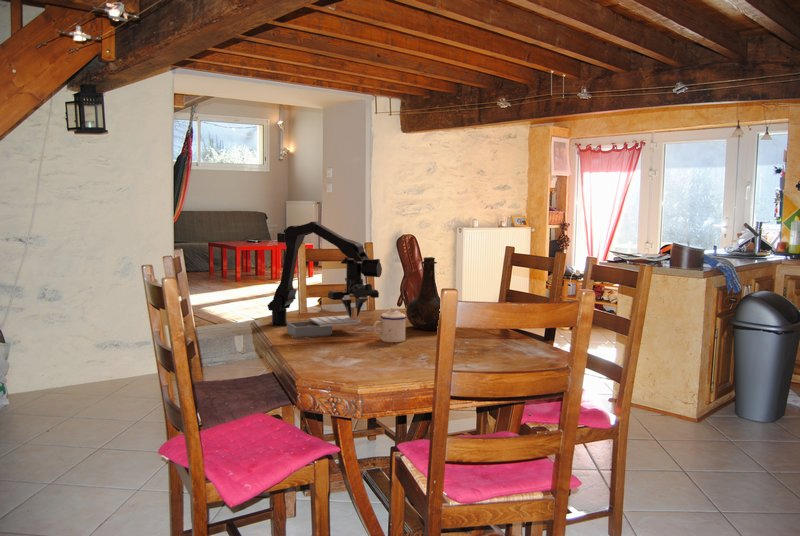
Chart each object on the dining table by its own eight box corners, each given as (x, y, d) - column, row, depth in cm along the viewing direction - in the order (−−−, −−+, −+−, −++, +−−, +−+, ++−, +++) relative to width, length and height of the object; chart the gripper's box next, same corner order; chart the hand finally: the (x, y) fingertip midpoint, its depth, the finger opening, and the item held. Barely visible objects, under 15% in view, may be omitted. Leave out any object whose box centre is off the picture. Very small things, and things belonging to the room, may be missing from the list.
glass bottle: (452, 333, 241) (454, 259, 238) (405, 332, 242) (407, 259, 239) (450, 324, 259) (451, 255, 256) (406, 323, 259) (407, 255, 257)
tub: (286, 333, 236) (286, 322, 235) (322, 330, 242) (322, 320, 242) (295, 338, 227) (295, 327, 227) (332, 335, 233) (332, 324, 233)
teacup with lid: (399, 336, 234) (400, 305, 232) (409, 341, 225) (410, 309, 224) (369, 338, 229) (369, 306, 228) (377, 344, 221) (378, 311, 220)
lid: (309, 321, 240) (309, 307, 240) (349, 318, 247) (349, 305, 247) (320, 326, 230) (320, 312, 229) (361, 323, 237) (361, 309, 237)
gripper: (338, 279, 229) (338, 322, 231) (385, 277, 237) (384, 318, 239) (327, 275, 239) (327, 316, 240) (373, 274, 247) (372, 313, 249)
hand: (353, 316), depth 242 cm, fingers open, 3 cm apart
